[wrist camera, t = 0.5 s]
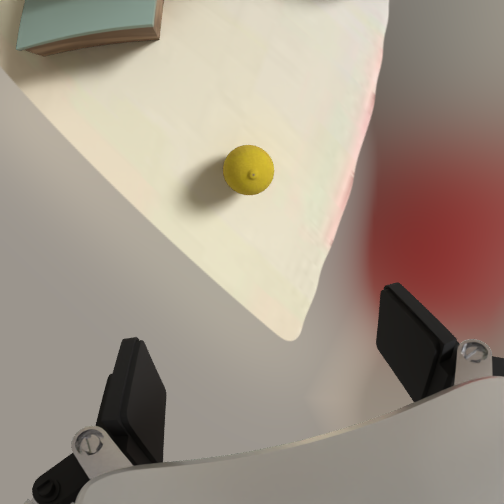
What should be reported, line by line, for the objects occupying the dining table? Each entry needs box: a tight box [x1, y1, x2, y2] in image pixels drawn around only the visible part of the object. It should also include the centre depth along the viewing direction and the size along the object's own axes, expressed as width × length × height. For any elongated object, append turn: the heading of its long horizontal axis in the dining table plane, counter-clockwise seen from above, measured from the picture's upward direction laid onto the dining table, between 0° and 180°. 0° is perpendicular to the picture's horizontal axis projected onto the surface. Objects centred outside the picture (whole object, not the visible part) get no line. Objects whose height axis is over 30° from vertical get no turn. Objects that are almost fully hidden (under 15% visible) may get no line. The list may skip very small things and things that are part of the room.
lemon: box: [223, 145, 274, 195], centre depth 34 cm, size 6×6×8 cm
